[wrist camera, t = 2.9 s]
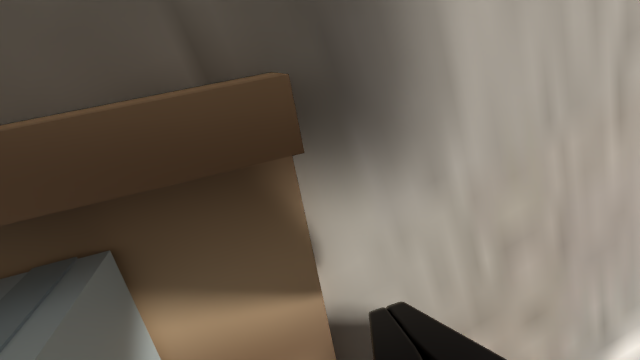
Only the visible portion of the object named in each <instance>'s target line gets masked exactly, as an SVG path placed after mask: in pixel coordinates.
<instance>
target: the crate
mask: <svg viewBox="0 0 640 360" xmlns="http://www.w3.org/2000/svg"><path fill="white" fill-rule="evenodd" d="M0 360H161V358H160V356H159V354H158V352H157V350H156V348H155V346H154V343H153V341H152V339H151V337H150V335H149V333H148V331H147V328H146V326H145V324H144V322H143V320H142V318H141V316H140V313H139V311H138V309H137V307H136V305H135V303H134V301H133V298H132V296H131V294H130V292H129V290H128V288H127V286H126V283H125V281H124V279H123V277H122V275H121V273H120V271H119V268H118V266H117V264H116V262H115V260H114V258H113V256H112V253H111V251H110V250H109V251H105V252H102V253H98V254H94V255H90V256H86V257H83V258H79V259H78V258H77V257H73V258H70V259H66V260H62V261H58V262H54V263H50V264H47V265H43V266H39V267H35V268H32V269H31V270H30V271H29V272H25V273H22V274H18V275H14V276H10V277H6V278H3V279H0Z"/></svg>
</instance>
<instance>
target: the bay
mask: <svg viewBox="0 0 640 360" xmlns="http://www.w3.org/2000/svg"><path fill="white" fill-rule="evenodd" d="M302 153H304V148H303V143H302V138H301V133H300V128H299V123H298V118H297V113H296V108H295V103H294V98H293V94H292V89H291V84H290V79H289V74H283V73H273V72H270V73H265V74H260V75H255V76H250V77H245V78H240V79H235V80H229V81H224V82H219V83H214V84H209V85H204V86H199V87H194V88H189V89H184V90H178V91H173V92H168V93H163V94H158V95H153V96H148V97H143V98H138V99H132V100H127V101H122V102H117V103H112V104H107V105H102V106H97V107H92V108H86V109H81V110H76V111H71V112H66V113H61V114H56V115H51V116H46V117H40V118H35V119H30V120H25V121H20V122H15V123H10V124H5V125H0V279H3V278H6V277H10V276H14V275H18V274H22V273H25V272H29V271H30V270H31V269H32V268H35V267H39V266H43V265H47V264H50V263H54V262H58V261H62V260H66V259H70V258H73V257H77V258H78V259H79V258H83V257H86V256H90V255H94V254H98V253H102V252H105V251H109V250H110V251H111V253H112V256H113V258H114V260H115V262H116V264H117V266H118V268H119V271H120V273H121V275H122V277H123V279H124V281H125V283H126V286H127V288H128V290H129V292H130V294H131V296H132V298H133V301H134V303H135V305H136V307H137V309H138V311H139V313H140V316H141V318H142V320H143V322H144V324H145V326H146V328H147V331H148V333H149V335H150V337H151V339H152V341H153V343H154V346H155V348H156V350H157V352H158V354H159V356H160V358H161V360H336V356H335V351H334V347H333V342H332V337H331V333H330V328H329V324H328V319H327V314H326V310H325V305H324V300H323V296H322V291H321V287H320V282H319V277H318V273H317V268H316V263H315V259H314V254H313V249H312V245H311V240H310V236H309V231H308V226H307V222H306V217H305V212H304V208H303V203H302V199H301V194H300V189H299V185H298V180H297V175H296V171H295V166H294V162H293V157H292V156H293V155H298V154H302Z"/></svg>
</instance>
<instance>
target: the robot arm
mask: <svg viewBox="0 0 640 360" xmlns="http://www.w3.org/2000/svg"><path fill="white" fill-rule="evenodd" d="M369 322H370V331H371V340H372V349H373V358H374V360H506V359H505V358H503V357H501V356H499V355H497V354H496V353H494V352H492V351H490V350H489V349H487V348H485V347H483V346H481V345H480V344H478V343H476V342H474V341H473V340H471V339H469V338H467V337H465V336H464V335H462V334H460V333H458V332H456V331H455V330H453V329H451V328H449V327H448V326H446V325H444V324H442V323H440V322H439V321H437V320H435V319H433V318H432V317H430V316H428V315H426V314H424V313H423V312H421V311H419V310H417V309H415V308H414V307H412V306H410V305H408V304H407V303H405V302H398V303H395V304H392V305H389V306H387V307H386V308H380V309H376V310H373V311H371V312H369Z"/></svg>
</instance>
